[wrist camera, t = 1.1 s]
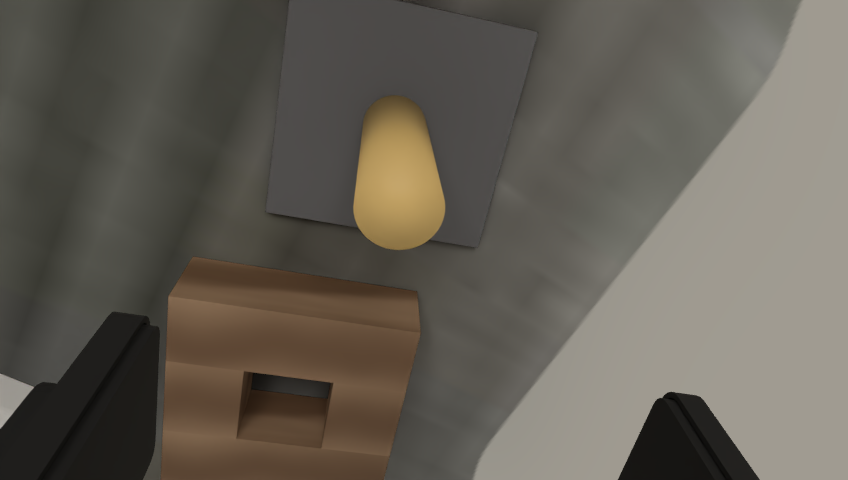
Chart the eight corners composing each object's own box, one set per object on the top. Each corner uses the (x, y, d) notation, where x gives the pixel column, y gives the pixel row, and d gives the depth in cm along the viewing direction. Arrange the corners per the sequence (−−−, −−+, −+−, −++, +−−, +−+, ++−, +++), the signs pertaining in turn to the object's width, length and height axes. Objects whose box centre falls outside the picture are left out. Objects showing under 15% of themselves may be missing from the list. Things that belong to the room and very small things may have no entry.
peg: (368, 89, 28) (361, 157, 19) (432, 102, 28) (454, 174, 20) (358, 151, 29) (346, 242, 20) (419, 162, 30) (434, 256, 21)
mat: (293, -24, 26) (291, -23, 26) (535, 31, 28) (538, 32, 27) (267, 207, 31) (265, 212, 30) (476, 242, 32) (477, 247, 32)
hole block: (192, 256, 32) (168, 296, 28) (416, 291, 34) (420, 332, 30) (182, 429, 37) (160, 482, 33) (378, 452, 39) (377, 504, 35)
